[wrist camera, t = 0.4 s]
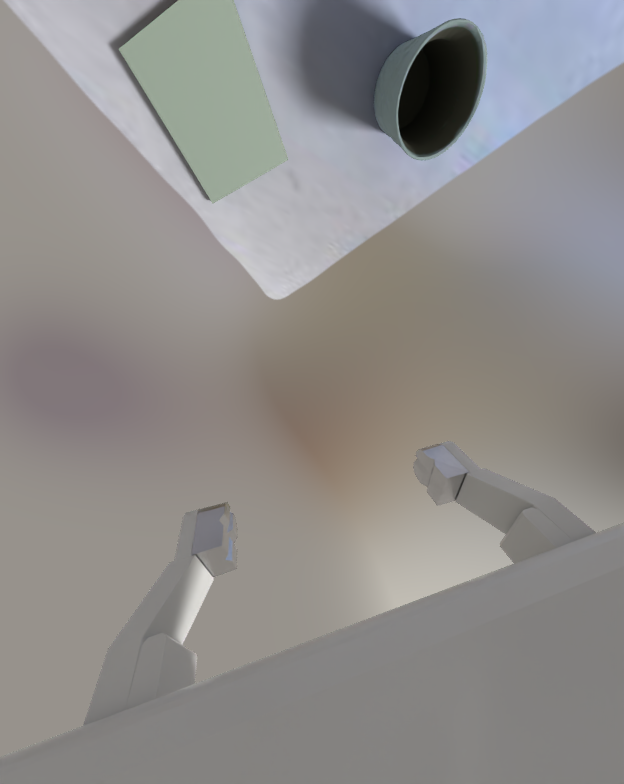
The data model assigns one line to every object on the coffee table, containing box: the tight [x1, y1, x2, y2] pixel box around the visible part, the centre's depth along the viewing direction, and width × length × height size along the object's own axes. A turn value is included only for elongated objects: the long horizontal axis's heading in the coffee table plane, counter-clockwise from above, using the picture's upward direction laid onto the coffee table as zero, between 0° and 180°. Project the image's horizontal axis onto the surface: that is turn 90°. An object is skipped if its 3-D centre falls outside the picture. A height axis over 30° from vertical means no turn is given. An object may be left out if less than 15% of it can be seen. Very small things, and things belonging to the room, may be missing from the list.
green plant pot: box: [374, 18, 487, 160], centre depth 31 cm, size 10×10×12 cm
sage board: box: [119, 0, 288, 203], centre depth 33 cm, size 16×14×1 cm
